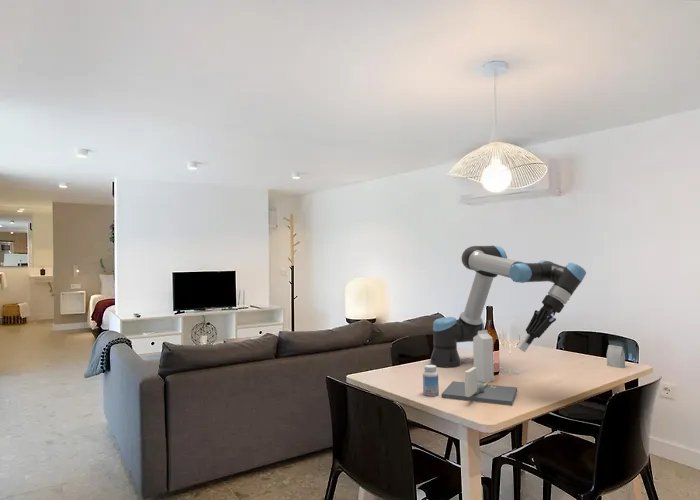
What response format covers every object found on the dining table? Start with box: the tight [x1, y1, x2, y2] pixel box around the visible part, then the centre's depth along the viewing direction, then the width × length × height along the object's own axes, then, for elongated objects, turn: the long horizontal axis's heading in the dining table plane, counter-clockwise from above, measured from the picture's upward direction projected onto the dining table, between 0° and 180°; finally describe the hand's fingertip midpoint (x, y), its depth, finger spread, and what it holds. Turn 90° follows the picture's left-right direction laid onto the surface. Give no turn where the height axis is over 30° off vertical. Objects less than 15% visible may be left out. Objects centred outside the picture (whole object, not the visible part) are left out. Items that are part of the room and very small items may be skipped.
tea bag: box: [606, 344, 626, 369], centre depth 227 cm, size 4×7×10 cm, turn 31°
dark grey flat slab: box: [441, 380, 518, 406], centre depth 184 cm, size 26×20×2 cm
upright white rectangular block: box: [464, 366, 490, 397], centre depth 182 cm, size 25×4×10 cm, turn 146°
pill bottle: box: [422, 364, 440, 397], centre depth 186 cm, size 6×6×11 cm
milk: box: [472, 329, 495, 384], centre depth 205 cm, size 6×6×22 cm
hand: (521, 349), depth 179 cm, fingers closed
